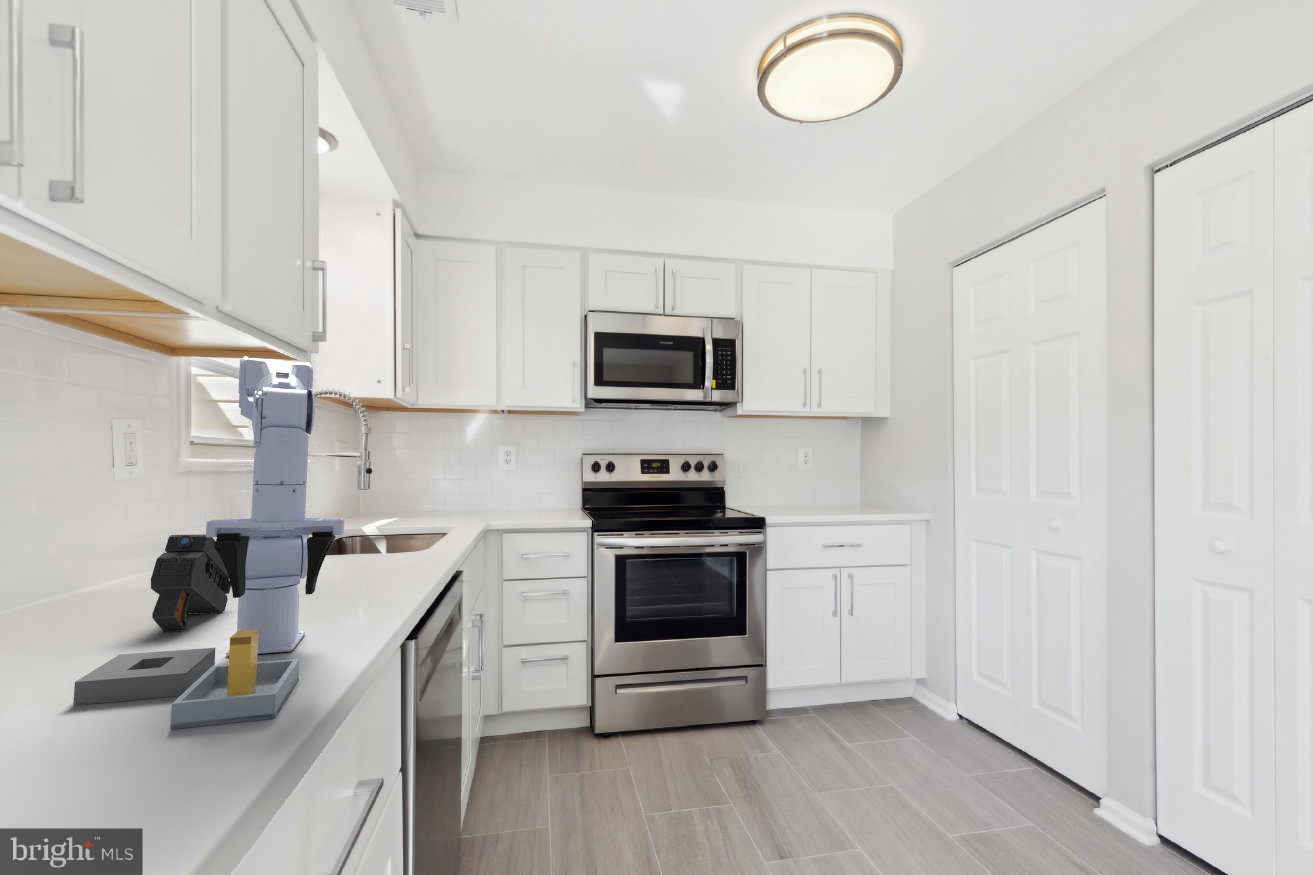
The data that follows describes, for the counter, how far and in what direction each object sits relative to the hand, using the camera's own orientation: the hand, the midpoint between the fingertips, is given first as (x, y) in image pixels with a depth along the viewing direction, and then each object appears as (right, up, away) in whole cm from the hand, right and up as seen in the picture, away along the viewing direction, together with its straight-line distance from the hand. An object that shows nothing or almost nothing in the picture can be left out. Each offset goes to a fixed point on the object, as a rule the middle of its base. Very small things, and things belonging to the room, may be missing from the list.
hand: (275, 594), depth 75 cm
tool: (-30, -11, +26) cm, 41 cm away
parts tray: (+1, -10, -8) cm, 13 cm away
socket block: (-13, -10, -3) cm, 17 cm away
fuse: (+1, -10, -8) cm, 12 cm away
